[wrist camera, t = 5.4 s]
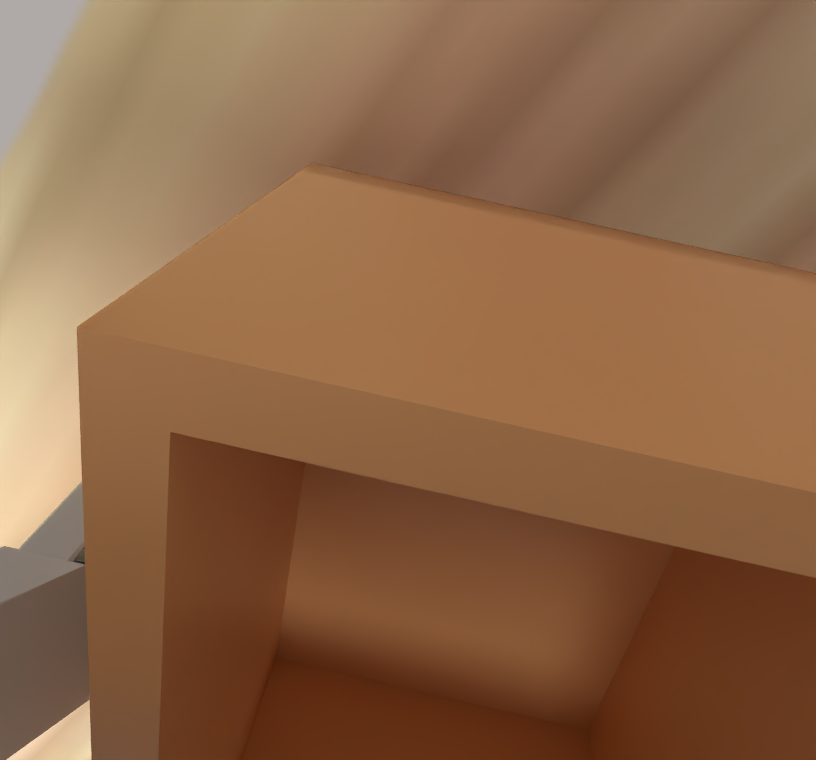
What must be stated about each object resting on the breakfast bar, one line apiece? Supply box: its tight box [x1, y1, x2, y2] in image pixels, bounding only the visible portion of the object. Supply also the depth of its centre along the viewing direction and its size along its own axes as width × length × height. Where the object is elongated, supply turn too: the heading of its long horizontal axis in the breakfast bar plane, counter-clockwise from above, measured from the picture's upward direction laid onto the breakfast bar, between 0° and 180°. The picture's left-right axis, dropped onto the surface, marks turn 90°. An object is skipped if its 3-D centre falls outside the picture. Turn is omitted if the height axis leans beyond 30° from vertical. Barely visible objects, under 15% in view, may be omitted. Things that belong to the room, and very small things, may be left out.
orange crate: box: [77, 163, 816, 760], centre depth 7 cm, size 6×8×5 cm
